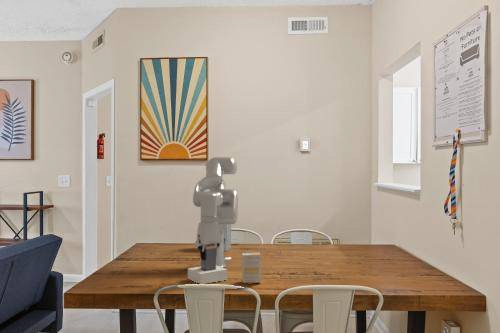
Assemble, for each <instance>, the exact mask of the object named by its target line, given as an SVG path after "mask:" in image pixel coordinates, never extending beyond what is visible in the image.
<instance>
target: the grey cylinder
mask: <svg viewBox="0 0 500 333" xmlns="http://www.w3.org/2000/svg"><path fill="white" fill-rule="evenodd" d="M204 251H205V260H202V259H201V258H200V266H201V270H203V271H210V270H216V246H215V245H212V244H210V245H206V246H205V250H204Z"/></svg>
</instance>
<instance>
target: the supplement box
mask: <svg viewBox="0 0 500 333" xmlns="http://www.w3.org/2000/svg"><path fill="white" fill-rule="evenodd" d="M241 258H242V259H241V261H242V262H241V266H242V268H241V270H242V271H241V272H242V273H241V275H242V276H241V278H242V280H241V281H242V284H243V283H248V284H252V283H260V284H261V271H262V270H261V253H260V252H242V255H241ZM252 285H253V284H252Z"/></svg>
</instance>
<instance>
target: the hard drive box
mask: <svg viewBox="0 0 500 333" xmlns="http://www.w3.org/2000/svg"><path fill="white" fill-rule="evenodd" d="M219 226H220V227H221V229H222V230H223V232H224V252H228V251H230V250H231V249H232V246H231V243H232V242H231V241H232V224H220V225H219Z"/></svg>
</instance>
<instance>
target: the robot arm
mask: <svg viewBox="0 0 500 333" xmlns="http://www.w3.org/2000/svg"><path fill="white" fill-rule="evenodd" d="M237 170H238V163H237V161H236V159H234V158H233V157H231V156H230V157H227V156H224V157H221V156H219V157H217V156H216V157H211V158H210V159H209V160H207V161H206V164H205V171H206V174H205V177H203V178H202V179H201V178H200V180H199V181H198V182H197V183H196V185H195V186H194V189H193V194H192V202H193V205H194V207H197V208H200V222H198V225H197V231H196V239H195V242H194V243H193V245H194V247H196V248H197V250H199V251H200V252H199V253H200V254H199V256H200V260H201V259H202V260H205V251H204V250H205V246H206V245H210V244H212V245H215V246H216V265H217V266H219V267H222V268H226V267H227V262H231V261H232V257H227V256H226V257H225V256H224V255H225V254H224V253H225V251H224V232H223V230H222V229H221V227H220V226H219V225H220V224H231V225H235V224H237V221H238V215H239V214H238V213H239V210H238V209H239V195H238V192H237V190H235V189H230V188H229V189H227V188H226V183H225V180H224V179H223V175H235V174H236V173H237Z"/></svg>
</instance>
